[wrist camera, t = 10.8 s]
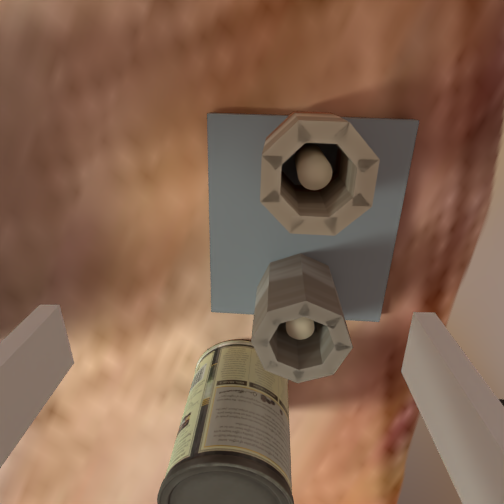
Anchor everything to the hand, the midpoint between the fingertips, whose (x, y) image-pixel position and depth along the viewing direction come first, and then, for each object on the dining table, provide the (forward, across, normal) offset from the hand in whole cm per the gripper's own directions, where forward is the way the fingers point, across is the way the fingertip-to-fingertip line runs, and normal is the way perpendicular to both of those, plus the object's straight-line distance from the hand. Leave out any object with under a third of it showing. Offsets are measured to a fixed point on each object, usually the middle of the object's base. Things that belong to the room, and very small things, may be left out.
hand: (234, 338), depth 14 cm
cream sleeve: (+19, +4, +4) cm, 19 cm away
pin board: (+20, +4, -2) cm, 20 cm away
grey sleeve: (+19, +4, -8) cm, 21 cm away
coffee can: (+20, -1, -20) cm, 29 cm away
